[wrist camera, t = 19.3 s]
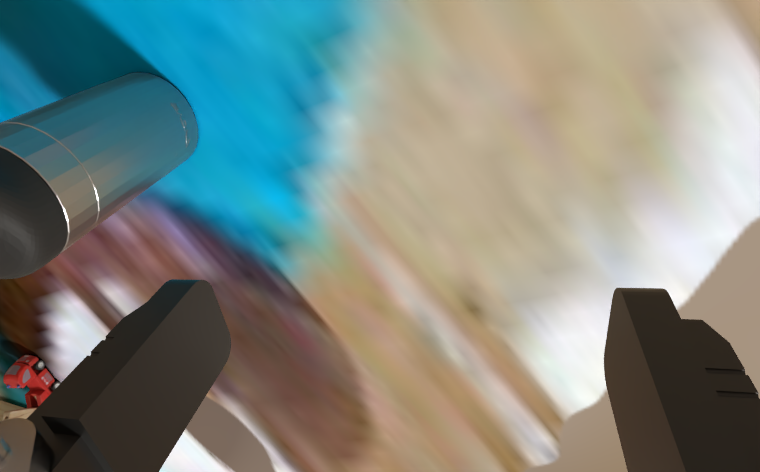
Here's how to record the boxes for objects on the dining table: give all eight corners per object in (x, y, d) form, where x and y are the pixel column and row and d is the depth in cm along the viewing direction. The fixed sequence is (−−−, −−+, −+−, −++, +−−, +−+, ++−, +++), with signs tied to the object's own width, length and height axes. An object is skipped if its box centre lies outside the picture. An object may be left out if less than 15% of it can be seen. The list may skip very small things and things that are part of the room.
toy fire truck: (37, 351, 71) (-21, 405, 63) (85, 414, 78) (38, 469, 70) (20, 352, 72) (-39, 404, 64) (69, 413, 79) (21, 468, 71)
